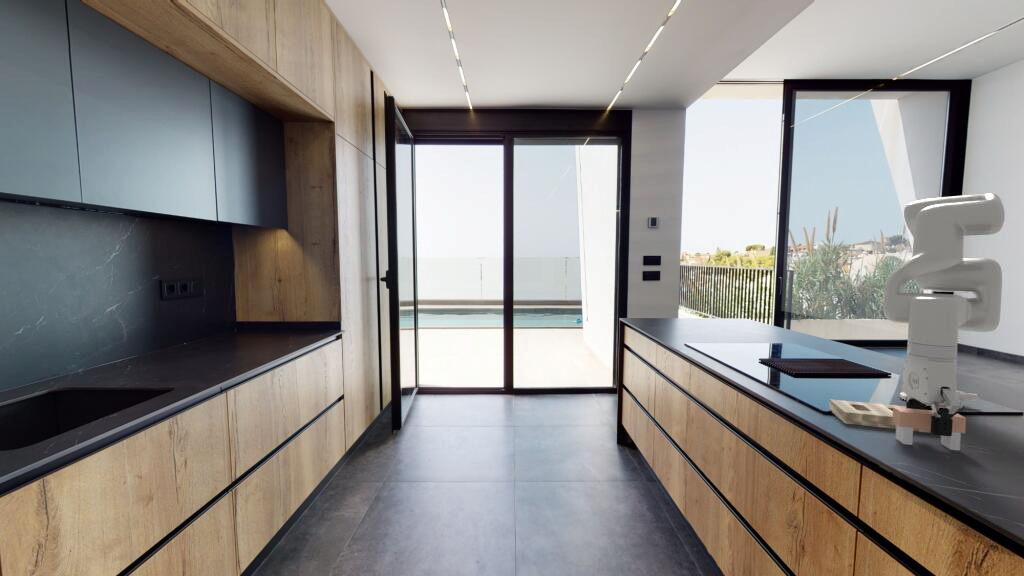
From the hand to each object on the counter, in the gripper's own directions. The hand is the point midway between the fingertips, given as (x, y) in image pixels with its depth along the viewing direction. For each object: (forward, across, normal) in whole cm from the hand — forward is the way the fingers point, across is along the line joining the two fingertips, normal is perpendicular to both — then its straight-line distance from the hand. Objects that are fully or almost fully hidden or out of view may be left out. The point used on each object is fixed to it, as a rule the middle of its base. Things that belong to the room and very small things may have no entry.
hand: (927, 426), depth 87 cm
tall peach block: (+4, 0, 0) cm, 4 cm away
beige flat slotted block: (+4, -13, -3) cm, 14 cm away
